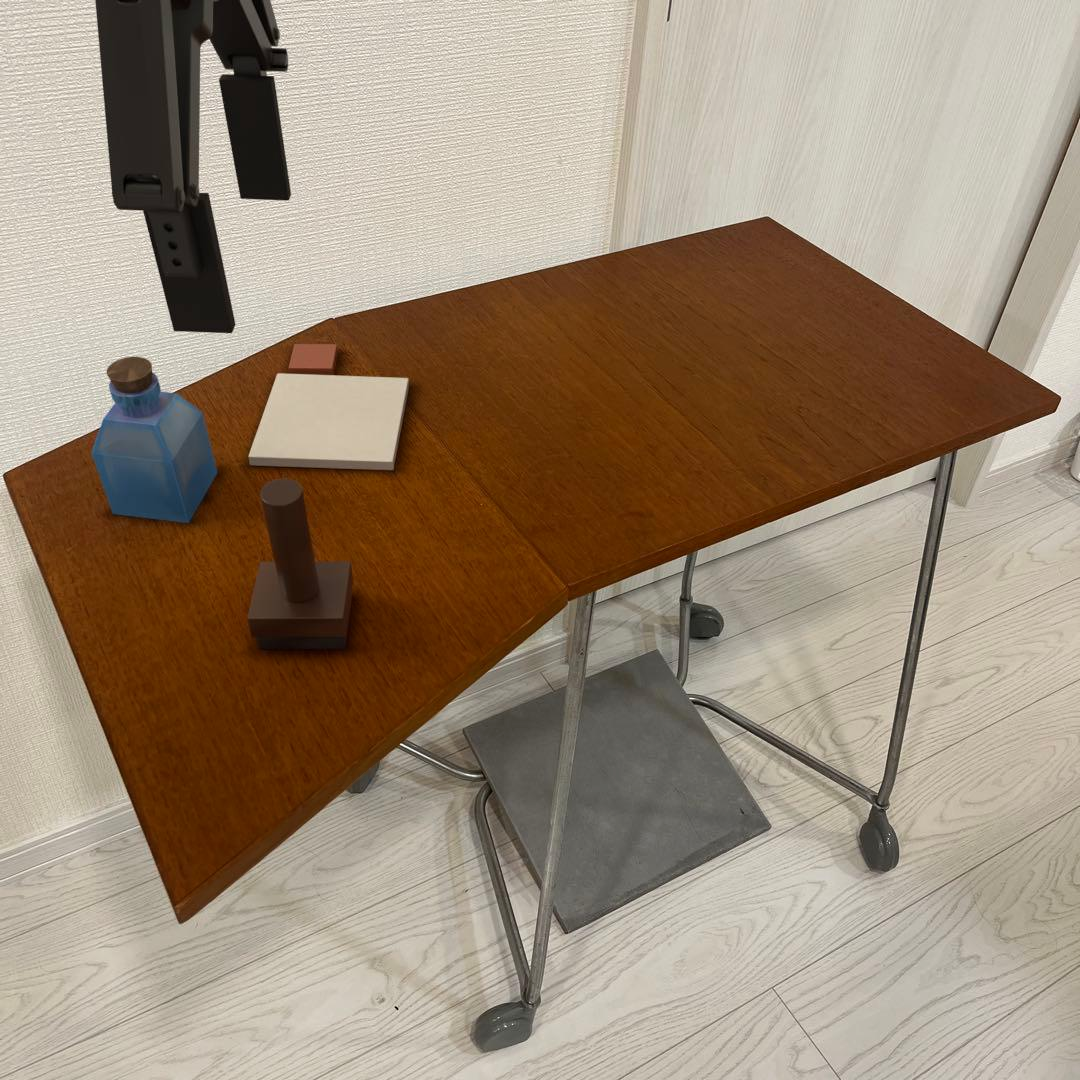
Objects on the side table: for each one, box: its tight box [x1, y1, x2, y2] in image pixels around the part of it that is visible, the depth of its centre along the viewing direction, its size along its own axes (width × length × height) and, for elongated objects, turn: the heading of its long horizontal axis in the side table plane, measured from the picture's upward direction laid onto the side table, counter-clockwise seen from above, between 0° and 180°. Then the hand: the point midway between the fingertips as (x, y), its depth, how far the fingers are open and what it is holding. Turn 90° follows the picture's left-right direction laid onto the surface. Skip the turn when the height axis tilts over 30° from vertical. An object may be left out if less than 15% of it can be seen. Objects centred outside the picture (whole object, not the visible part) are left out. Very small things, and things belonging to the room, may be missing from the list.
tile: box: [248, 372, 410, 471], centre depth 88 cm, size 12×12×1 cm
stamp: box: [246, 478, 354, 650], centre depth 68 cm, size 6×5×12 cm
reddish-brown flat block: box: [288, 343, 339, 375], centre depth 95 cm, size 4×4×1 cm
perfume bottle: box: [91, 356, 219, 524], centre depth 78 cm, size 6×6×12 cm
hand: (238, 257), depth 52 cm, fingers open, 13 cm apart
